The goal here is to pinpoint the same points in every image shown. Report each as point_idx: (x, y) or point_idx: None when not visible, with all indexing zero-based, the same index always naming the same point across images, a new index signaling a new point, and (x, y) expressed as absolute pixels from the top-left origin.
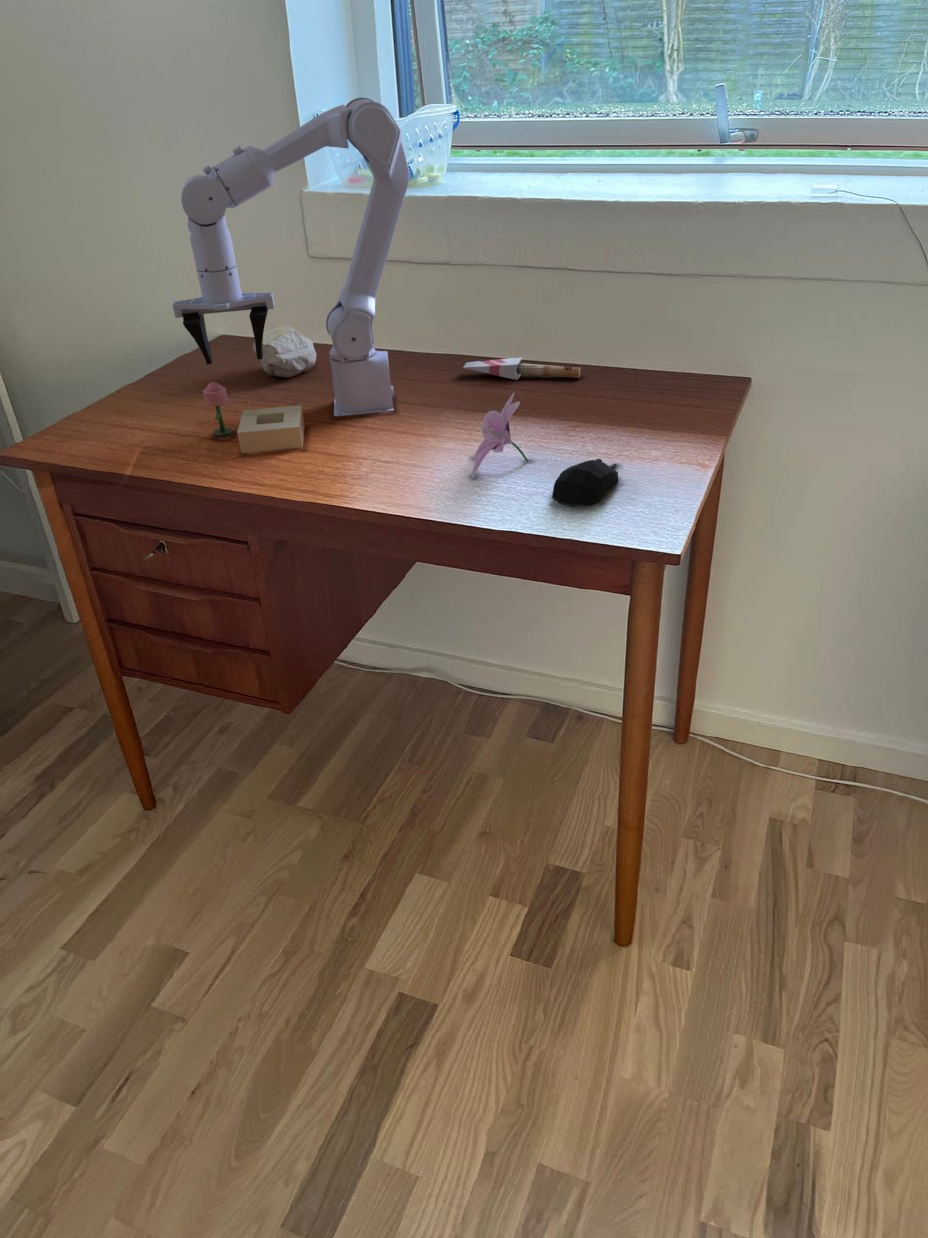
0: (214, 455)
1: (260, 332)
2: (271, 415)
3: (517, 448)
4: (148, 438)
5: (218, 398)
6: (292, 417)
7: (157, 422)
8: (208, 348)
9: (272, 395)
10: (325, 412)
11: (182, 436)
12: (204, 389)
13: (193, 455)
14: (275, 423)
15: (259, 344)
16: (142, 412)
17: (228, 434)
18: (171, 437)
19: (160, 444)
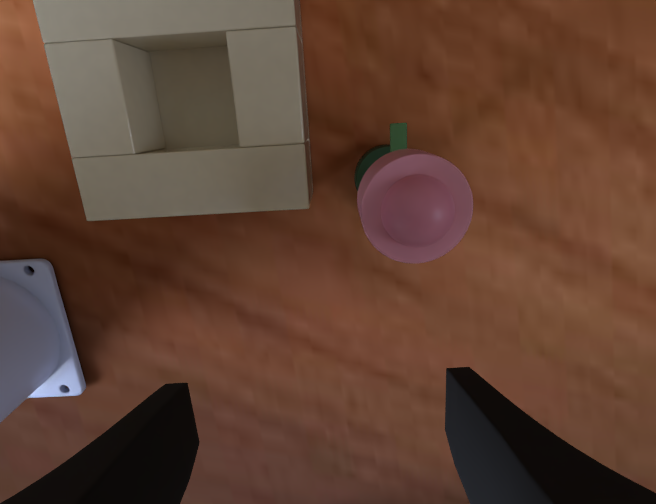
0: (399, 14)
1: (23, 496)
2: (189, 150)
3: None
4: (632, 215)
5: (390, 157)
6: (84, 84)
7: (606, 336)
8: (474, 459)
9: (286, 465)
10: (98, 318)
11: (523, 210)
12: (465, 224)
13: (474, 29)
14: (140, 26)
15: (113, 433)
16: (652, 416)
17: (366, 154)
18: (558, 209)
19: (592, 155)
